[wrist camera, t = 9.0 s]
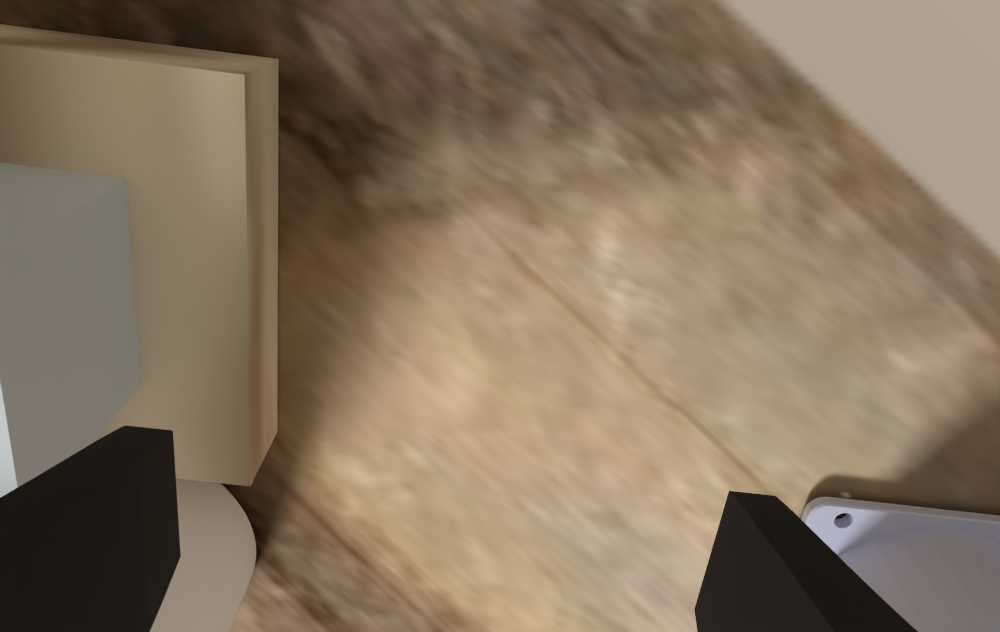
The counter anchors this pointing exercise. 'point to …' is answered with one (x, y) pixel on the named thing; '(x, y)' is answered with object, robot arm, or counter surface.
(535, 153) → the counter surface
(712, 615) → the robot arm
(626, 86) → the counter surface
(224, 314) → the base
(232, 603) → the can
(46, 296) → the block
